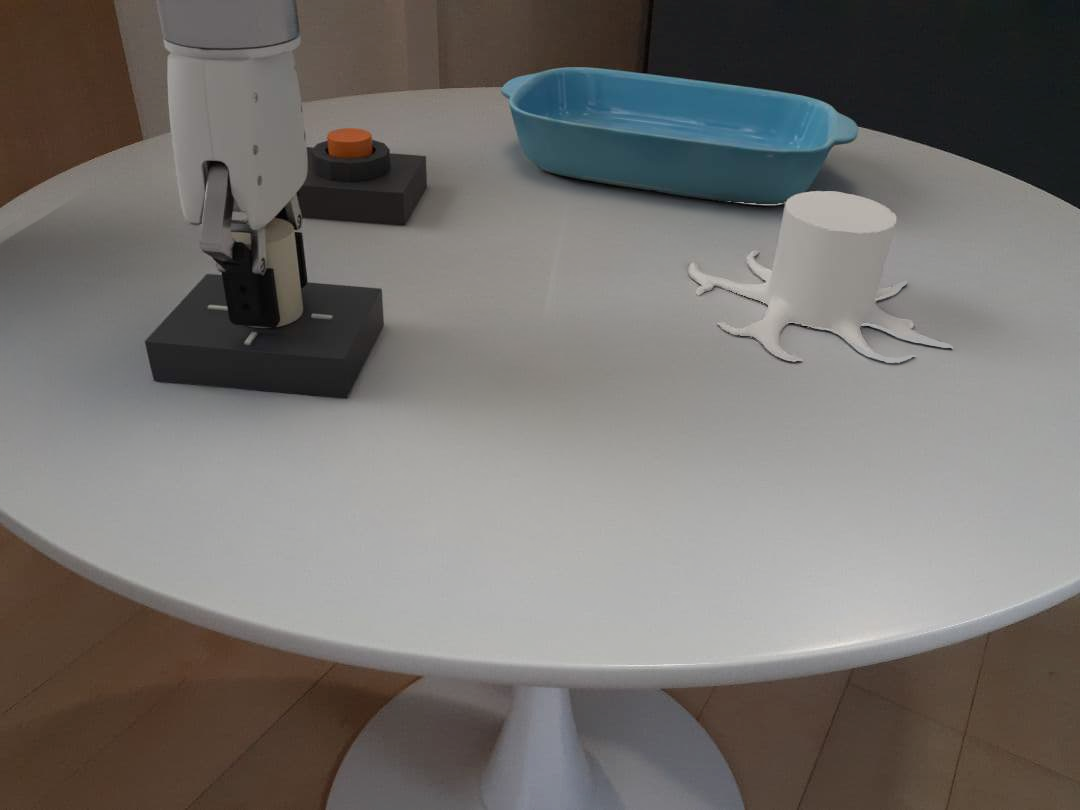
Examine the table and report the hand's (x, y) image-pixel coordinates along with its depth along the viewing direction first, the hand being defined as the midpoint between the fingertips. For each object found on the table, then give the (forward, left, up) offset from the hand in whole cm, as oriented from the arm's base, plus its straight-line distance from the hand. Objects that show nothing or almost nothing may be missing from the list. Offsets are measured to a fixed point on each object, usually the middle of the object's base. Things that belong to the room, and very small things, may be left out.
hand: (270, 301), depth 62 cm
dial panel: (0, 0, -4) cm, 4 cm away
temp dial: (0, 0, -1) cm, 1 cm away
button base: (-2, +28, -4) cm, 28 cm away
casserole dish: (+28, +44, -4) cm, 52 cm away
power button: (-2, +28, +1) cm, 28 cm away
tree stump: (+39, +14, -4) cm, 42 cm away
